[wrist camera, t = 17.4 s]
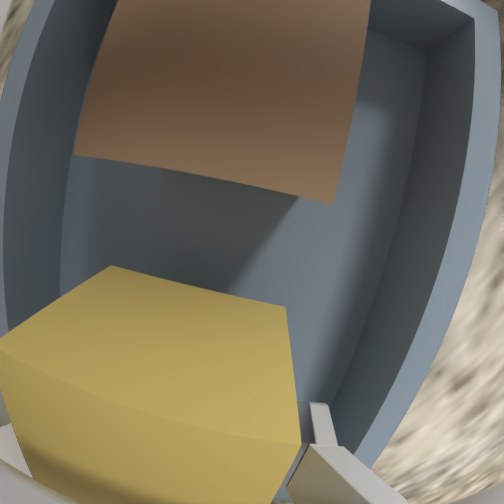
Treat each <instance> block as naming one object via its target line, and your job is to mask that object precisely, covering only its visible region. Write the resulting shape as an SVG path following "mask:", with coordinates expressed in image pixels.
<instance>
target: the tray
mask: <svg viewBox="0 0 504 504" xmlns="http://www.w3.org/2000/svg"><path fill="white" fill-rule="evenodd" d="M117 2H118V0H35V2H34V4H33V6H32V9H31V11H30V13H29V15H28V18H27V20H26V23H25V25H24V28H23V30H22V33H21V36H20V38H19V41H18V44H17V47H16V49H15V52H14V55H13V58H12V62H11V65H10V68H9V71H8V75H7V78H6V82H5V85H4V89H3V93H2V97H1V101H0V338H1V337H3V336H4V335H5V334H7V333H8V332H10V331H11V330H13V329H14V328H15V327H17V326H18V325H20V324H21V323H23V322H24V321H26V320H27V319H29V318H30V317H32V316H33V315H34V314H36V313H37V312H39V311H40V310H42V309H43V308H45V307H46V306H48V305H49V304H51V303H52V302H54V301H56V300H57V299H59V298H60V297H62V296H63V295H65V294H66V293H68V292H69V291H71V290H72V289H74V288H76V287H77V286H79V285H80V284H82V283H83V282H85V281H87V280H88V279H90V278H91V277H93V276H95V275H96V274H98V273H99V272H101V271H103V270H104V269H106V268H107V267H109V266H111V265H113V266H116V267H120V268H124V269H127V270H131V271H135V272H139V273H143V274H147V275H150V276H154V277H158V278H162V279H166V280H170V281H174V282H178V283H182V284H186V285H191V286H195V287H199V288H203V289H207V290H212V291H216V292H220V293H224V294H229V295H233V296H238V297H242V298H247V299H251V300H256V301H260V302H265V303H269V304H274V305H279V306H284V307H286V315H287V323H288V331H289V339H290V347H291V355H292V363H293V372H294V380H295V389H296V398H297V401H304V402H308V401H309V402H319V403H326V404H327V405H328V406H329V410H330V414H331V418H332V423H333V427H334V431H335V435H336V439H337V444H338V446H343V447H345V448H346V449H347V450H348V451H349V452H350V453H351V454H353V455H354V456H355V457H356V458H357V459H358V460H359V461H361V462H362V463H363V464H364V465H365V466H366V467H367V468H369V469H371V467H372V466H373V464H374V463H375V461H376V460H377V458H378V457H379V456H380V454H381V453H382V451H383V450H384V448H385V447H386V445H387V443H388V442H389V440H390V439H391V437H392V436H393V434H394V432H395V431H396V429H397V428H398V426H399V424H400V423H401V421H402V419H403V418H404V416H405V414H406V412H407V411H408V409H409V407H410V405H411V404H412V402H413V400H414V398H415V396H416V394H417V393H418V391H419V389H420V387H421V385H422V383H423V381H424V379H425V377H426V375H427V373H428V371H429V369H430V367H431V365H432V363H433V361H434V359H435V356H436V354H437V352H438V350H439V348H440V345H441V343H442V341H443V339H444V336H445V334H446V332H447V329H448V327H449V324H450V322H451V319H452V317H453V314H454V312H455V309H456V306H457V304H458V301H459V298H460V296H461V293H462V290H463V287H464V284H465V281H466V278H467V275H468V272H469V269H470V266H471V262H472V259H473V256H474V252H475V249H476V245H477V242H478V238H479V234H480V230H481V226H482V222H483V218H484V214H485V209H486V205H487V200H488V195H489V190H490V185H491V179H492V173H493V167H494V160H495V153H496V145H497V137H498V127H499V114H500V97H501V48H500V31H499V19H498V11H497V10H495V9H493V8H492V7H490V6H489V5H487V4H486V3H484V2H483V1H481V0H371V3H370V11H369V19H368V26H367V33H366V40H365V47H364V53H363V60H362V66H361V72H360V78H359V83H358V89H357V94H356V100H355V105H354V111H353V116H352V121H351V126H350V131H349V136H348V141H347V145H346V150H345V155H344V159H343V164H342V168H341V173H340V177H339V182H338V186H337V190H336V194H335V199H334V203H333V205H332V204H328V203H324V202H320V201H316V200H312V199H308V198H304V197H300V196H296V195H291V194H287V193H283V192H279V191H274V190H270V189H265V188H261V187H256V186H252V185H247V184H242V183H238V182H233V181H228V180H223V179H218V178H213V177H208V176H203V175H198V174H192V173H187V172H182V171H176V170H171V169H165V168H159V167H153V166H147V165H141V164H135V163H129V162H122V161H116V160H109V159H102V158H95V157H87V156H80V155H74V150H75V144H76V139H77V134H78V129H79V125H80V120H81V116H82V111H83V107H84V103H85V99H86V95H87V91H88V88H89V84H90V80H91V77H92V73H93V70H94V67H95V63H96V60H97V57H98V54H99V51H100V48H101V45H102V42H103V39H104V36H105V33H106V31H107V28H108V25H109V22H110V20H111V17H112V15H113V12H114V10H115V7H116V5H117ZM285 489H286V488H279V489H278V491H277V493H276V495H275V496H274V498H273V500H280V501H292V502H293V500H292V499H291V497H290V496H289V494H288V493H287V491H286V490H285Z"/></svg>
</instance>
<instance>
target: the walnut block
mask: <svg viewBox="0 0 504 504" xmlns="http://www.w3.org/2000/svg"><path fill="white" fill-rule="evenodd" d="M370 3H371V0H118V2H117V5H116V7H115V10H114V12H113V15H112V17H111V20H110V22H109V25H108V28H107V31H106V33H105V36H104V39H103V42H102V45H101V48H100V51H99V54H98V57H97V60H96V63H95V67H94V70H93V73H92V77H91V80H90V84H89V88H88V91H87V95H86V99H85V103H84V107H83V111H82V116H81V120H80V125H79V129H78V134H77V139H76V144H75V150H74V155H80V156H87V157H95V158H102V159H109V160H116V161H122V162H129V163H135V164H141V165H147V166H153V167H159V168H165V169H171V170H176V171H182V172H187V173H192V174H198V175H203V176H208V177H213V178H218V179H223V180H228V181H233V182H238V183H242V184H247V185H252V186H256V187H261V188H265V189H270V190H274V191H279V192H283V193H287V194H291V195H296V196H300V197H304V198H308V199H312V200H316V201H320V202H324V203H328V204H332V205H333V203H334V199H335V194H336V190H337V186H338V182H339V177H340V173H341V168H342V164H343V159H344V155H345V150H346V145H347V141H348V136H349V131H350V126H351V121H352V116H353V111H354V105H355V100H356V94H357V89H358V83H359V78H360V72H361V66H362V60H363V53H364V47H365V40H366V33H367V26H368V19H369V11H370Z"/></svg>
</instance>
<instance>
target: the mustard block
mask: <svg viewBox="0 0 504 504" xmlns="http://www.w3.org/2000/svg"><path fill="white" fill-rule="evenodd" d="M0 387H1V391H2V394H3V398H4V401H5V405H6V408H7V411H8V414H9V417H10V420H11V423H12V426H13V429H14V432H15V435H16V438H17V440H18V443H19V445H20V448H21V451H22V453H23V456H24V458H25V460H26V463H27V465H28V467H29V469H30V472H31V474H32V476H33V479H34V480H36V481H38V482H40V483H41V484H43V485H45V486H47V487H49V488H51V489H53V490H55V491H57V492H59V493H61V494H63V495H65V496H67V497H69V498H71V499H73V500H75V501H78V502H80V503H82V504H270V503H271V502H272V500H273V498H274V496H275V495H276V493H277V491H278V489H279V487H280V486H281V484H282V482H283V480H284V478H285V476H286V474H287V472H288V471H289V469H290V467H291V465H292V463H293V461H294V459H295V457H296V455H297V453H298V451H299V449H300V447H301V445H302V444H301V435H300V425H299V416H298V407H297V398H296V389H295V380H294V372H293V363H292V355H291V347H290V339H289V331H288V323H287V315H286V307H284V306H279V305H274V304H269V303H265V302H260V301H256V300H251V299H247V298H242V297H238V296H233V295H229V294H224V293H220V292H216V291H212V290H207V289H203V288H199V287H195V286H191V285H186V284H182V283H178V282H174V281H170V280H166V279H162V278H158V277H154V276H150V275H147V274H143V273H139V272H135V271H131V270H127V269H124V268H120V267H116V266H113V265H111V266H109V267H107V268H106V269H104V270H103V271H101V272H99V273H98V274H96V275H95V276H93V277H91V278H90V279H88V280H87V281H85V282H83V283H82V284H80V285H79V286H77V287H76V288H74V289H72V290H71V291H69V292H68V293H66V294H65V295H63V296H62V297H60V298H59V299H57V300H56V301H54V302H52V303H51V304H49V305H48V306H46V307H45V308H43V309H42V310H40V311H39V312H37V313H36V314H34V315H33V316H32V317H30V318H29V319H27V320H26V321H24V322H23V323H21V324H20V325H18V326H17V327H15V328H14V329H13V330H11V331H10V332H8V333H7V334H5V335H4V336H3V337H1V338H0Z"/></svg>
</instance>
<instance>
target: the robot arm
mask: <svg viewBox="0 0 504 504" xmlns="http://www.w3.org/2000/svg"><path fill="white" fill-rule="evenodd" d="M297 407H298V416H299V425H300V435H301V444H302V445H301V447H300V449H299V451H298V453H297V455H296V457H295V459H294V461H293V463H292V465H291V467H290V469H289V471H288V472H287V474H286V476H285V478H284V480H283V482H282V484H281V486H280V487H279V488H286V489H285V490H286V491H287V493H288V494H289V496H290V497H291V499H292V500H293V502H294V503H295V504H408V502H407V500H406V499H405V498H404V497H402V496H401V495H400V494H399V493H397V492H396V491H395V490H394V489H392V488H391V487H390V486H389V485H388V484H386V483H385V482H384V481H383V480H382V479H380V478H379V477H378V476H377V475H376V474H374V473H373V472H372V471H371V470H370V469H369V468H367V467H366V466H365V465H364V464H363V463H362V462H361V461H359V460H358V459H357V458H356V457H355V456H354V455H353V454H351V453H350V452H349V451H348V450H347V449H346V448H345V447H343V446H338V444H337V439H336V435H335V431H334V427H333V423H332V418H331V414H330V410H329V406H328V405H327V404H326V403H319V402H309V401H308V402H304V401H297ZM9 423H11V420H10V417H9V414H8V411H7V408H6V405H5V401H4V398H3V394H2V391H1V387H0V427H1V426H4V425H7V424H9ZM0 504H82V503H80V502H78V501H75V500H73V499H71V498H69V497H67V496H65V495H63V494H61V493H59V492H57V491H55V490H53V489H51V488H49V487H47V486H45V485H43V484H41V483H40V482H38V481H36V480H34V479H33V478H31V477H29V476H27V475H26V474H24V473H22V472H21V471H19V470H17V469H16V468H14V467H13V466H11V465H9V464H8V463H6V462H5V461H3V460H2V459H0Z"/></svg>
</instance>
